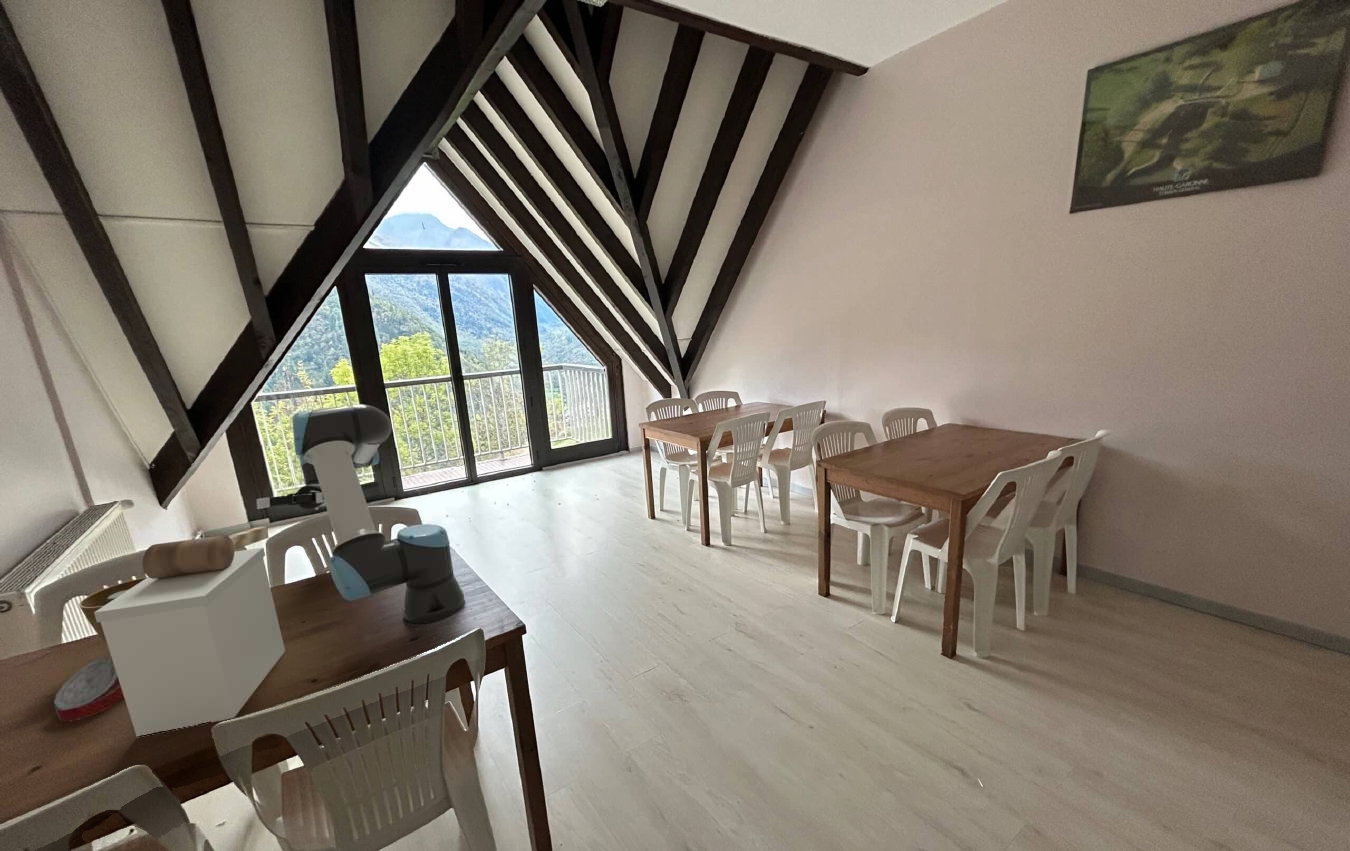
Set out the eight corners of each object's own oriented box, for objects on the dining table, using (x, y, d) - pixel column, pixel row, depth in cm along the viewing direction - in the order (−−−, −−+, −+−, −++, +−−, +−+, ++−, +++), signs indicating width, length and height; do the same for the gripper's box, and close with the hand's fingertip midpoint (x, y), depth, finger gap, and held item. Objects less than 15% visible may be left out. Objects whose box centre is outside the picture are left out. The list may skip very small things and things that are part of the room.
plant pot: (197, 634, 132) (182, 578, 129) (122, 672, 118) (103, 610, 115) (159, 627, 136) (143, 572, 133) (83, 663, 122) (63, 603, 119)
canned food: (132, 713, 112) (134, 683, 108) (61, 741, 103) (60, 710, 100) (118, 676, 116) (118, 645, 113) (48, 700, 108) (47, 668, 104)
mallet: (215, 572, 104) (212, 538, 104) (144, 582, 102) (140, 548, 102) (289, 542, 134) (286, 516, 134) (235, 549, 131) (232, 523, 131)
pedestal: (237, 717, 103) (204, 595, 97) (133, 738, 98) (93, 612, 93) (287, 650, 123) (263, 547, 118) (204, 665, 119) (175, 559, 114)
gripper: (359, 503, 164) (342, 508, 145) (265, 513, 156) (233, 520, 136) (357, 480, 165) (340, 482, 145) (264, 488, 156) (231, 492, 136)
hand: (288, 501), depth 140 cm, fingers open, 13 cm apart
